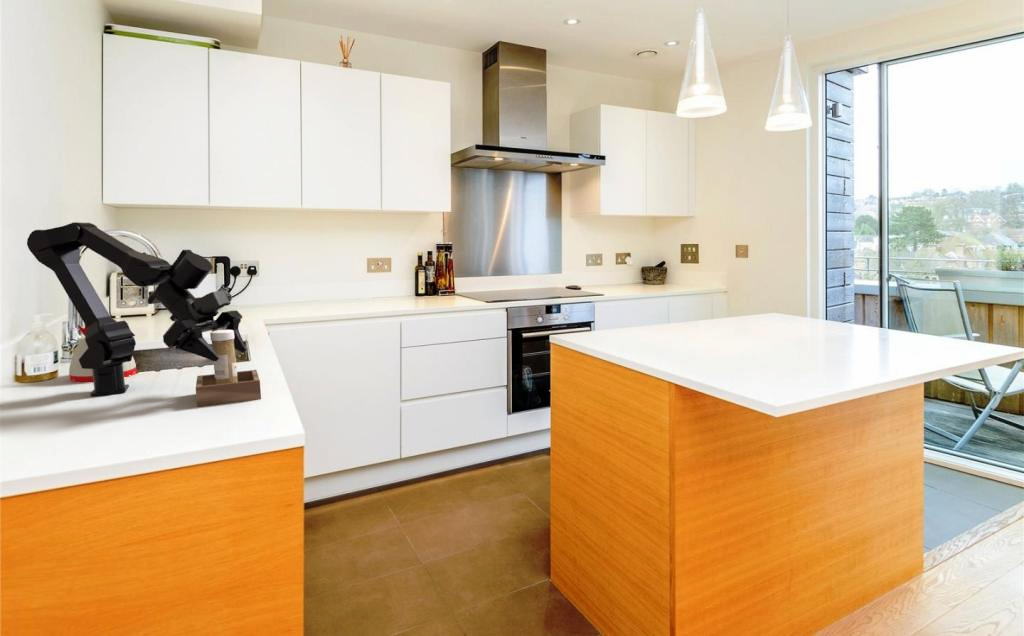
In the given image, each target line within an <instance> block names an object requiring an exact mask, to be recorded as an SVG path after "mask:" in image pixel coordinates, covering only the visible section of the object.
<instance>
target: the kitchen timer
mask: <svg viewBox="0 0 1024 636" xmlns="http://www.w3.org/2000/svg"><path fill="white" fill-rule="evenodd" d="M83 326H84V327H82V326H81V325H80V324H78V325H77V327H78V329H79V331H80V332H81V333H82V335H83V336H84V337H83V338H81V340H80V341H79V343H78V344H77V346H76V347H75V348H73V350H71V352H72V357H71V360H70V365H69V369H68V371H69V372H68V376H69V381H70V380H71V381H72V382H71V381H70V382H71V383H76V382H92V383H94V382H93V373H92V369H83V368H82V367H81V365H80V362H79V359H80V357H81V356H82V355H83V354H84V352H85V351H86V350H87V349H88V346H87V344H86V341H85V337H86V329H87V328H86V325H85V324H84V325H83ZM137 371H138V369H137V365H136V361H135V358H134V356H133V355H132V360H131V361H129V362H124V363H123V372H124V377H126V378H128V377H132V376H134V375H136V374H137ZM129 375H131V376H129Z"/></svg>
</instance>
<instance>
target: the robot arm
mask: <svg viewBox="0 0 1024 636" xmlns="http://www.w3.org/2000/svg"><path fill="white" fill-rule="evenodd" d="M26 245H27V246H26V247H27V249H28V250H29V251H30V252H31V254H32V256H34V257H35V259H36V260H37V262H38V263H40V264H42V265H43V266H45V267H47V269H50V270H51V271H53V273H54V275H55V276H56V277H57V279H58V282H59V283H60V285H61V286H62V288H63V289H64V291H65V294H66V295H67V296H68V297H69V300H70V302H71V303H72V305H73V306H74V307H73V308H75V310H76V312H77V313H78V316H80V318H81V321H82V322H83V323H84V324H85V325H86V328H87V329H86V337H85V336H84V337H85V341H86V344H87V346H88V349H87V350H86V351H85V352H84V354H83V355H82V356H81V357H80V359H79V362H80V365H81V367H82V368H83V369H92V373H93V382H92V383H93V390H91V392H90V394H89V395H90V397H94V396H95V397H96V396H104V395H113V394H121V393H126V392H127V391H128V389H129V388H130V384H126V383H125V378H124V372H123V363H124V362H129V361H131V360H132V356H133V354H134V350H135V346H136V345H137V343H136V340H135V336H136V334H134V333H133V331H132V330H131V328H130V326H129V324H128V322H127V321H126V320H120V321H117V320H116V319H114V318H113V317H111V314H110V313H109V311H108V309H107V307H105V305H104V303H103V301H102V299H101V298H100V296H99V294H98V293H97V291H96V289H95V288H94V286H93V284H92V282H91V281H90V280H89V277H88V275H87V274H86V273H85V271H84V269H83V268H82V266H81V264H80V258H81V249H80V248H82V247H84V246H85V247H86V248H88V249H89V250H90V251H92V252H94V253H96V254H98V255H99V256H101V257H102V258H105V260H108V261H109V262H110V263H113V264H114V265H116V266H117V267H118V268H119V269H121V272H122V273H123V275H124V277H125V278H126V279H128V281H130V282H131V283H132V284H134V285H136V286H137V287H140V288H143V287H154V286H156V288H155V289H154V290H152V291H151V290H150V291H148V292H147V293H148V297H147V304H148V305H154V304H161V305H162V306H163V307H164V308H165V309H166V310H167V311H168V312H169V313H170V314H171V316H170V317H169V319H170V320H171V321H172V322H173V323H172V324H171V325H170V326H169V327H168V329H167V330H166V331H165V332H164V334H163V335H162V341H163V343H164V344H165V345H166V346H167V348H168V349H173V348H175V349H176V350H178V351H179V350H180V351H184V352H187V353H190V354H193V355H197V356H198V357H202V358H204V359H206V360H207V359H208V360H211V361H217V360H218V359H219V357H218V355H217V354H216V352H215V351H214V350H213V348H212V345H210V344H209V342H207V340H206V339H205V337H204V336H203V333H207V332H212V331H217V330H233V331H234V350H237V351H238V352H241V354H242V353H243V354H245V352H246V351H247V347H246V344H245V343H244V340H243V338H242V336H241V333H240V330H239V327H240V326H239V325H240V323H241V322H242V319H243V315H242V314H241V313H240V312H239V311H238V310H235V309H234V310H227V311H222V312H221V313H220V314H219V311H218V310H220V309H222V308H223V307H226V306H229V305H231V302H232V294H231V293H230V292H228V290H226V289H224V288H220V289H218V290H216V291H212V292H209V293H207V294H205V295H203V296H199V297H195V296H194V295H193V294H192V293H191V292H190V290H197V288H198V287H199V286H200V285H201V283H202V282H203V281H204V280H205V279H206V278H207V276H208V275H209V274H210V272H212V270H213V264H212V262H210V260H209V259H208V258H205V257H203V256H202V255H200V254H198V253H194V252H193V251H192V250H191V249H182V250H181V252H180V253H179V255H178V257H177V258H176V259H175V260H174V262H173V263H172V264H170V262H168V261H167V260H166V259H163V258H161V257H157V256H156V255H151V254H148V253H144V252H140V251H137V250H135V249H133V248H132V247H130V246H128V245H127V244H125V243H124V242H122V241H120V240H119V239H117V238H115V237H113V236H112V235H110V234H108V233H107V232H105V231H103V230H101V229H100V228H98V226H97V225H95V224H94V223H92V222H79V221H78V222H71V223H68V224H65V225H62V226H58V227H57V226H55V227H53V228H48V229H35V230H33V231H31V233H29V235H28V238H27V239H26ZM218 314H219V315H218ZM217 315H218V317H216V316H217ZM215 317H216V319H214V318H215ZM85 325H84V326H85Z"/></svg>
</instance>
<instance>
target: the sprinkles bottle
mask: <svg viewBox="0 0 1024 636" xmlns="http://www.w3.org/2000/svg"><path fill="white" fill-rule="evenodd" d="M209 334H210V336H209V337H210V341H211V348H212V349H213V350H214V351H215V352H216V354H217V355H218V357H219V359H218V360H217V361H213V370H214V374H215V378H216V384H225V383H234V382H238V380H237V372H238V368H237V360H236V353H235V352H236V351H235V350H236V349H235V348H234V331H233V330H217V331H210V333H209Z"/></svg>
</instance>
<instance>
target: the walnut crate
mask: <svg viewBox="0 0 1024 636" xmlns="http://www.w3.org/2000/svg"><path fill="white" fill-rule="evenodd" d="M237 380H238V382H234V383H225V384H216V378H215V373H212V374H203V375H197V377H196V382H195V383H196V384H195V396H196V407H197V408H200V407H209V406H215V405H222V404H223V405H224V404H230V403H240V402H247V401H255V400H261V399H262V393H261V380H260V377H259V374H258V370H257V369H252V370H249V369H248V370H239V371H237Z"/></svg>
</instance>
